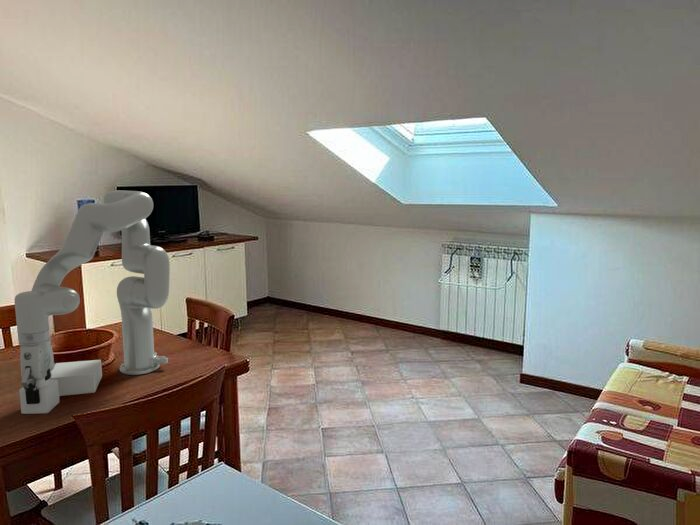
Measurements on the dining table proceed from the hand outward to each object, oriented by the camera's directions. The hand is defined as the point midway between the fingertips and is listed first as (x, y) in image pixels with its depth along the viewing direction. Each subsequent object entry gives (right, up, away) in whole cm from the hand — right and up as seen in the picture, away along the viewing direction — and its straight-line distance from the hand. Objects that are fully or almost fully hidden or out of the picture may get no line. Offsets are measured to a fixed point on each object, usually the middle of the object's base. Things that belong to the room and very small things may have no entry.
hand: (39, 396), depth 145 cm
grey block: (+2, -1, +16) cm, 16 cm away
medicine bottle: (0, -4, +1) cm, 4 cm away
